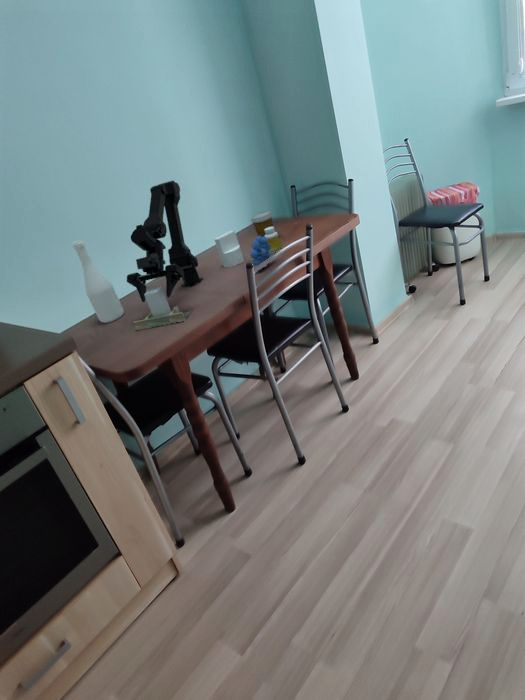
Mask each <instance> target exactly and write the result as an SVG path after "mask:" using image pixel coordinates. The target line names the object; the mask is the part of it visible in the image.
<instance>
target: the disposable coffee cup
mask: <svg viewBox="0 0 525 700" xmlns="http://www.w3.org/2000/svg"><path fill="white" fill-rule="evenodd" d="M250 219H251V220H250V222H251V223H252V225H253V226H254V230H255V231H256V232H255V233H256V234H257V236H261V237H265V235H266V233H265V230H264V229H266V228H268V227H274V222H273V213H272V212H271V211H269V210H267V211H266V210H265V211H262V212H261V211H260V212H258V213H256V214H254V215H252V216H251V217H250Z"/></svg>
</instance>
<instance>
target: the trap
mask: <svg viewBox="0 0 525 700" xmlns="http://www.w3.org/2000/svg"><path fill="white" fill-rule="evenodd" d="M191 313H192V311H186V312H184V311H181V312H180V309H179V307H178V305H176V306H174V307H173V308H172V309H171V313H170V314H169V315H164V316H159V317H153V314H152V312H151V311H150V312H149V313H148V315H147V316H146V317H145V318H144V319H140V320H135V321H133V322H132V324H133V327H134V328H135V331H136V330H137V331H141V330H148V329H152V327H153V328H157V327H156V326H158V327H162V326H161V325H163V326H167V325H166V324H168V325H171V323H173V324H177V323H176V322H179V323H183V322H182V321H184V322H185V321H186V320H187V319H188V318H189V316H190V315H191Z"/></svg>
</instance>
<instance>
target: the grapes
mask: <svg viewBox="0 0 525 700" xmlns="http://www.w3.org/2000/svg"><path fill="white" fill-rule="evenodd" d="M267 241H268V240H267V238H266V237H261V236H258V235H257V236H256V238H255V240H253V242H252V243H251V248H252V250H251V251H250V255H249V256H250V257H251V258H252V265H253V266H254V267H255V266H257V265H259V264H260V263H262V262H263V261H265V260H266V259H268V258H269V257H270V256H271V257H272V254H271V253H269V250H270V248H271V246H270V244H269V243H267ZM268 266H269V264H268V265H267V266H266V267H265V268H267V267H268ZM262 270H263V269H261V270H260V271H262Z"/></svg>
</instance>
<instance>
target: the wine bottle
mask: <svg viewBox="0 0 525 700" xmlns="http://www.w3.org/2000/svg"><path fill="white" fill-rule="evenodd" d="M72 247H73V249H74V250H75V251H76V253H77V256H78V258H79V260H80V262H81V266H82V269H83V277H84V286H85V292H86V296H87V298H88V299H89V303H90V304H91V306H92V308H93V310H94V312H95V314H96V316H97V318H98V320H99V321H100V322H101V323H104V324H105V323H106V324H107V323H111V322H114V321H116V320H118V319H120V318H121V317H122V316H123V315H124V313H125V311H124V307H123V306H122V304H121V303H122V302H120V298H119V297H118V294H117V293H116V289H115V288H114V286H113V284H112V283H111V281H110V280H109V279H108V278H107V276H105V275H104V273H103V272H102V271H101V270H100V269H99V268H98V267H97V266H96V265H95V264H94V262H93V261H92V258H91V257H90V255H89V253H88V251H87V249H86V247H85V242H84V241H82V239H78V240H75V241H73V242H72Z"/></svg>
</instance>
